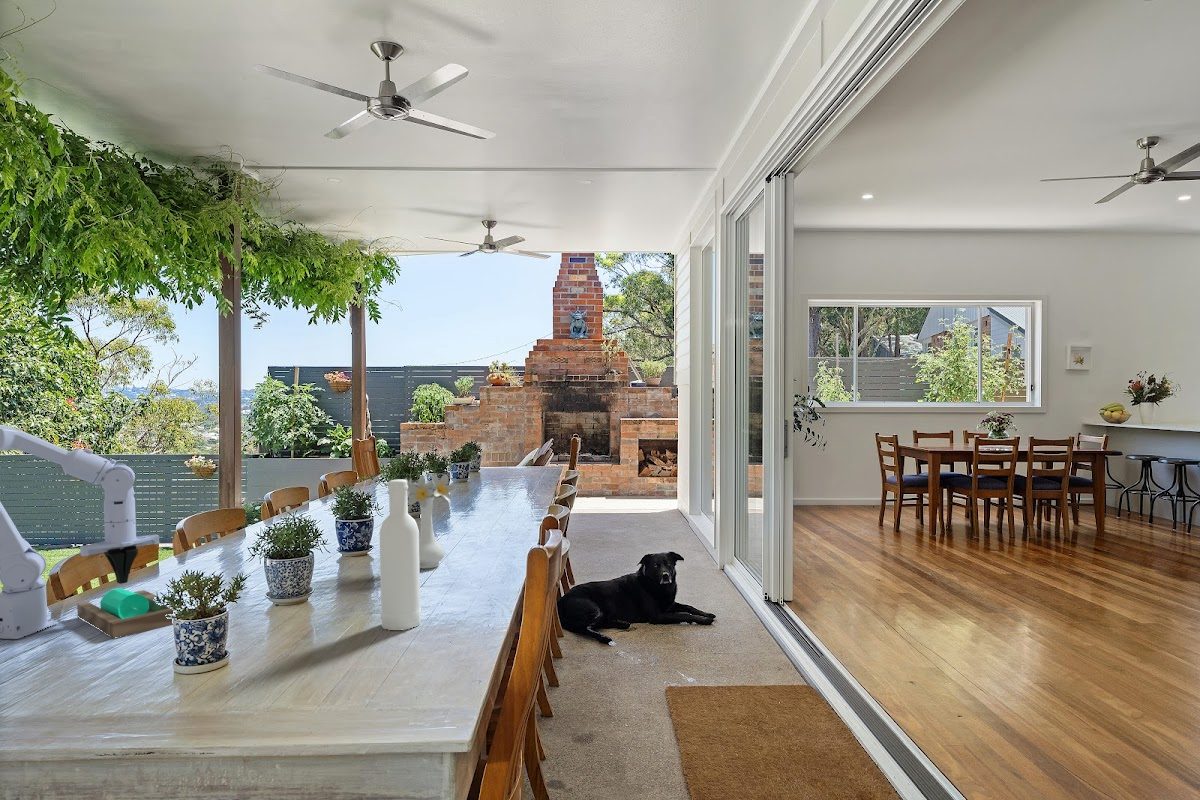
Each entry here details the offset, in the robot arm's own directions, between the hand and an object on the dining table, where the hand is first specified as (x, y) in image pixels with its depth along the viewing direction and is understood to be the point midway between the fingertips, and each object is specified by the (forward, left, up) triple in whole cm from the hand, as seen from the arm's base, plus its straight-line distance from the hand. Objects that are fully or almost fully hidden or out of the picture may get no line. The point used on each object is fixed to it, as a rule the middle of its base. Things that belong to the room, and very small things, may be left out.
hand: (122, 582), depth 159 cm
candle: (+1, +2, -4) cm, 5 cm away
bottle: (+2, -64, -8) cm, 64 cm away
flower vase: (+48, -50, -8) cm, 69 cm away
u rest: (-2, -3, -7) cm, 8 cm away
